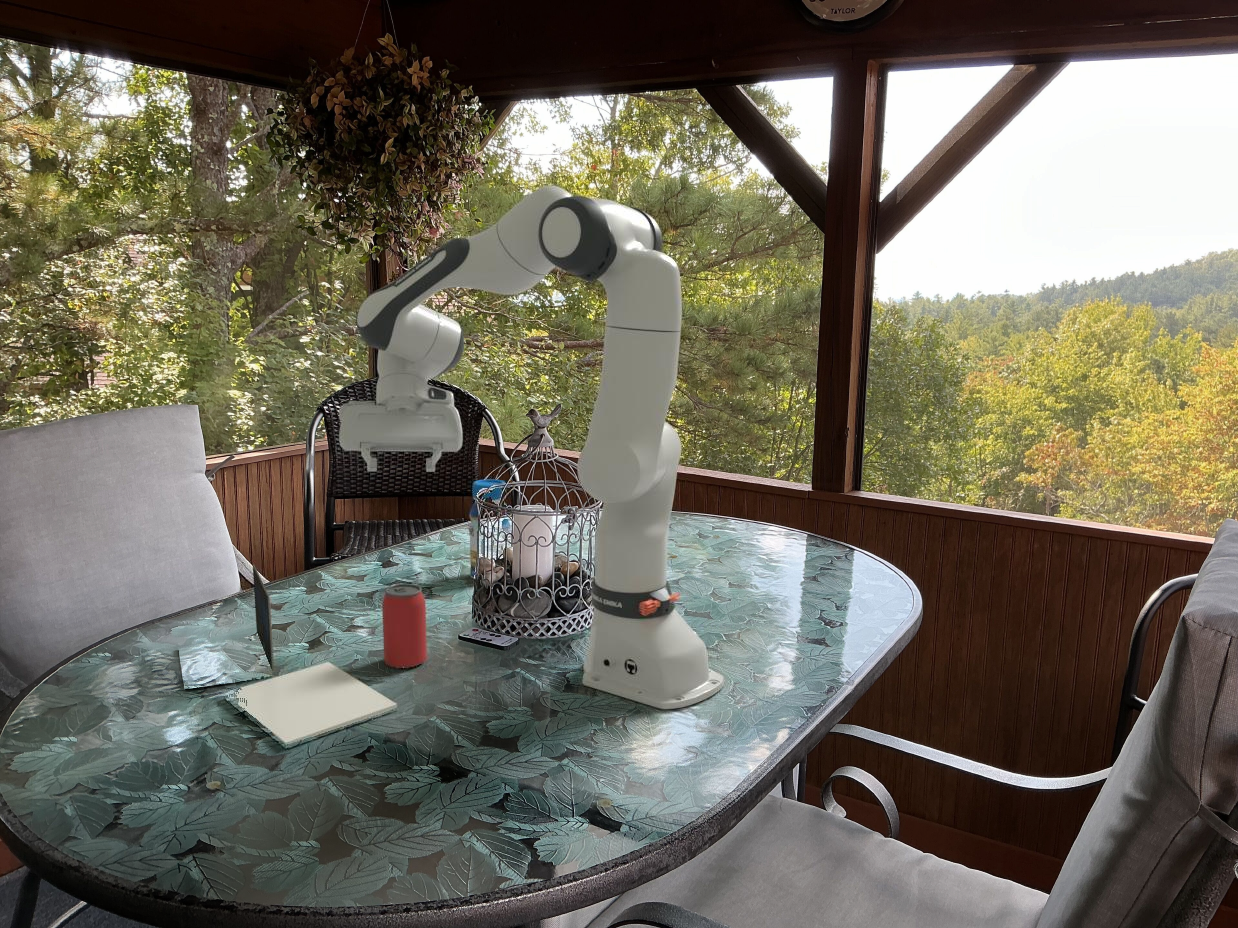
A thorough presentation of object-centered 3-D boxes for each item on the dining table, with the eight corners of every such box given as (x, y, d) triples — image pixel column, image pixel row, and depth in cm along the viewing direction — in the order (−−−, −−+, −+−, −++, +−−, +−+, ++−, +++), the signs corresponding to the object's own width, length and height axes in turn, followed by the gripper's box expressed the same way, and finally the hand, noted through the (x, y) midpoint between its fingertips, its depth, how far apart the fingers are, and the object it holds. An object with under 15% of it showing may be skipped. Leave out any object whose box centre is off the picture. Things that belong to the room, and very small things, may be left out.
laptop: (177, 650, 145) (171, 573, 143) (259, 638, 151) (255, 563, 149) (183, 694, 130) (177, 608, 128) (275, 677, 136) (270, 595, 133)
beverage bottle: (503, 584, 180) (502, 487, 176) (463, 581, 182) (461, 485, 178) (516, 572, 188) (515, 479, 184) (478, 569, 190) (476, 477, 186)
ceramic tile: (397, 710, 125) (396, 703, 125) (286, 749, 114) (285, 742, 114) (328, 667, 139) (328, 661, 139) (223, 699, 128) (223, 692, 128)
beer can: (409, 650, 146) (407, 579, 144) (435, 661, 142) (433, 588, 140) (375, 662, 141) (372, 589, 139) (401, 673, 137) (399, 599, 135)
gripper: (338, 389, 150) (334, 459, 143) (462, 392, 155) (464, 459, 148) (340, 412, 156) (337, 479, 148) (460, 414, 160) (462, 479, 153)
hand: (401, 469), depth 148 cm, fingers open, 8 cm apart
